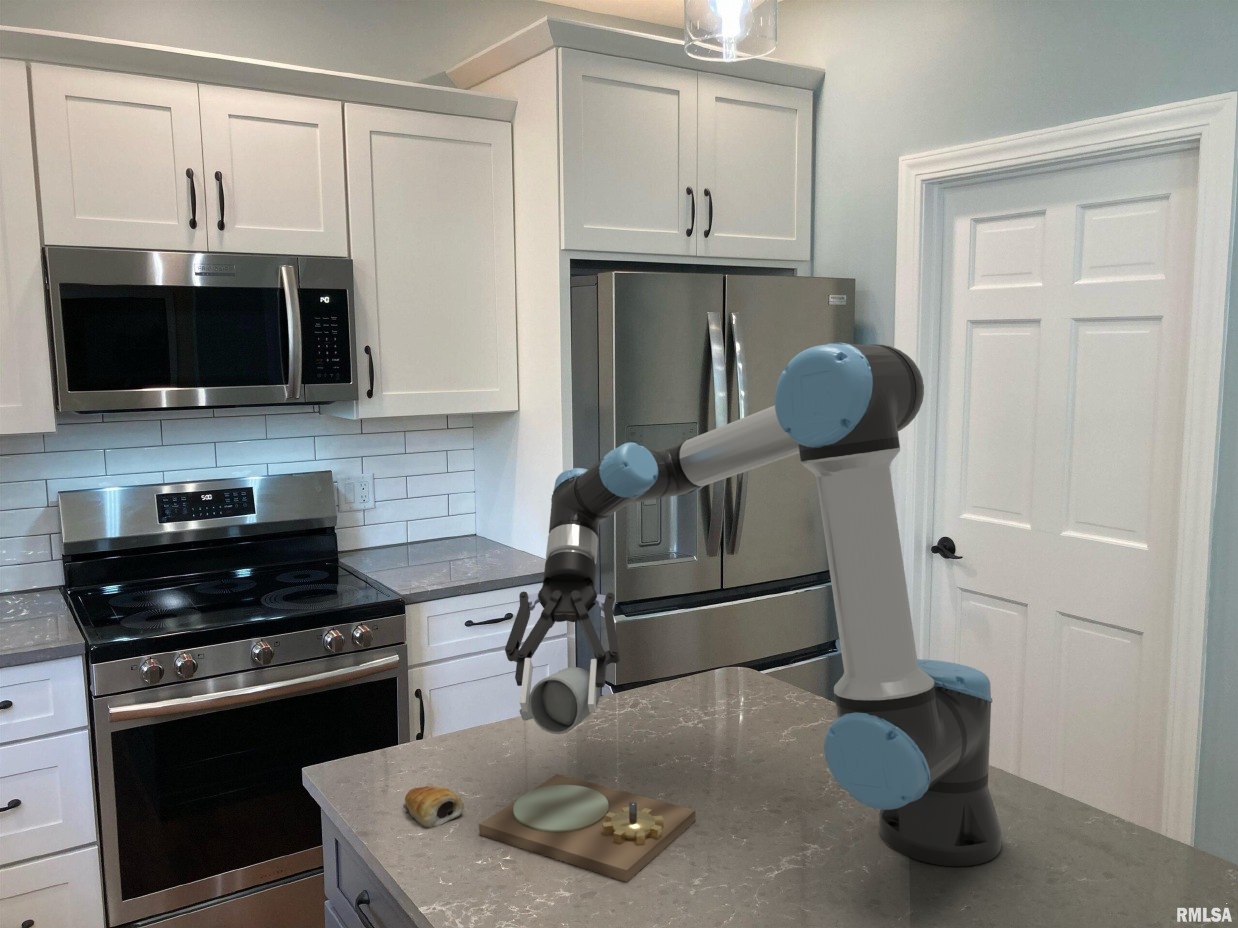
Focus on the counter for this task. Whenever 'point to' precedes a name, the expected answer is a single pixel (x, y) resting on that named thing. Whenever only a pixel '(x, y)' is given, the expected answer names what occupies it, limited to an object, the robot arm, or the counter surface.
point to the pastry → (433, 805)
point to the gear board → (583, 826)
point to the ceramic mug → (560, 700)
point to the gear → (633, 825)
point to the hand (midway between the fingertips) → (557, 707)
